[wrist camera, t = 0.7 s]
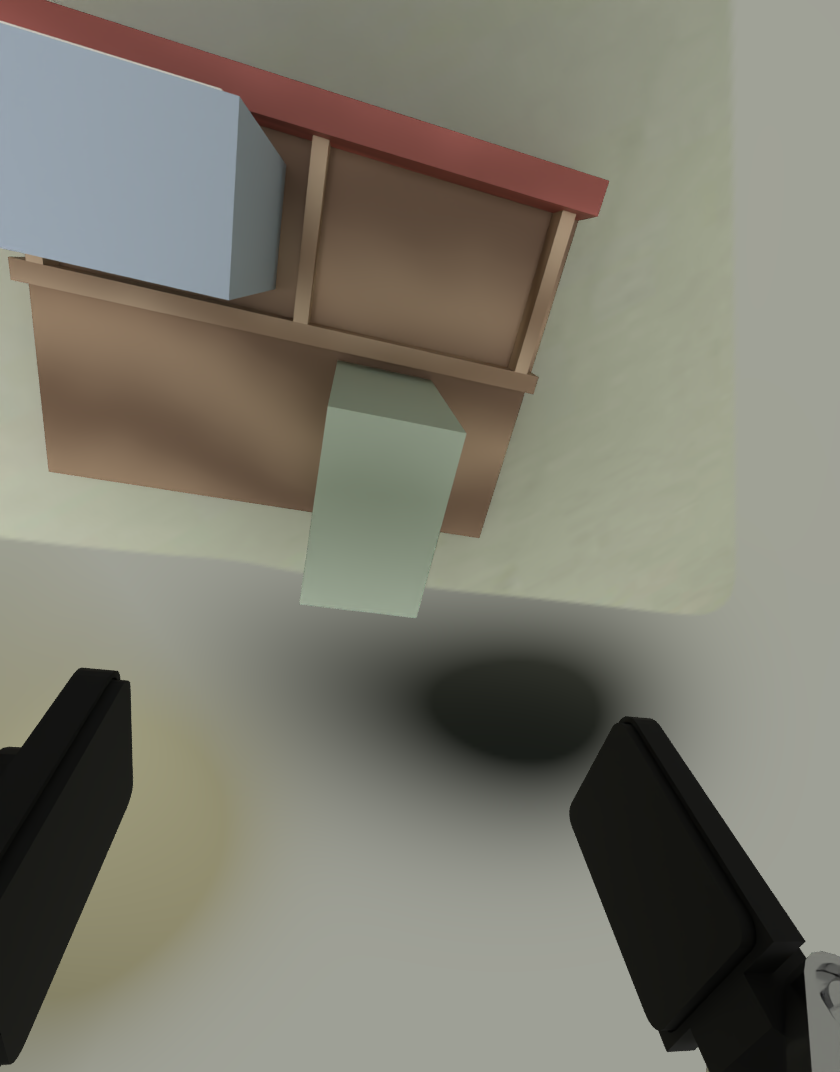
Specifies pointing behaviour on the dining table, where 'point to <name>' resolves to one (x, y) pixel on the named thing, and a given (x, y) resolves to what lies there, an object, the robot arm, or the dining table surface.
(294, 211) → the shelf
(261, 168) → the blue carton
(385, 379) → the sage carton
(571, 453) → the dining table surface
